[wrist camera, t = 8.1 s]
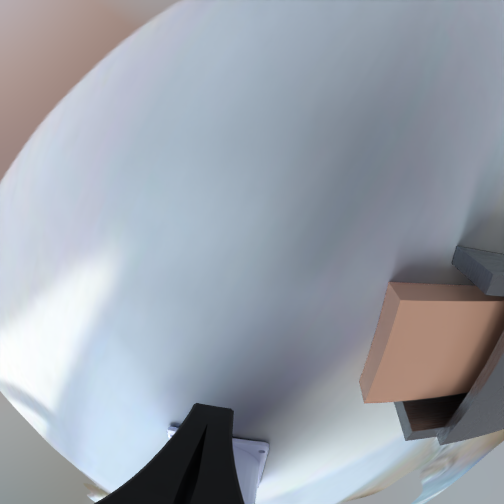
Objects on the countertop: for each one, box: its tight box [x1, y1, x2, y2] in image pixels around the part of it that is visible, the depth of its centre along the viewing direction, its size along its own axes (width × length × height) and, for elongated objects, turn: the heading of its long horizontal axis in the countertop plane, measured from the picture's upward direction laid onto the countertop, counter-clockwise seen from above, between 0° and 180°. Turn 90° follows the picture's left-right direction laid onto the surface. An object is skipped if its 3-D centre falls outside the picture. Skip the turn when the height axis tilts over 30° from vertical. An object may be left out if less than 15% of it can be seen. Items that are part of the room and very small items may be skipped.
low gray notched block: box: [394, 246, 504, 445], centre depth 13 cm, size 11×10×4 cm
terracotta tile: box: [359, 282, 504, 403], centre depth 14 cm, size 7×12×2 cm, turn 88°
